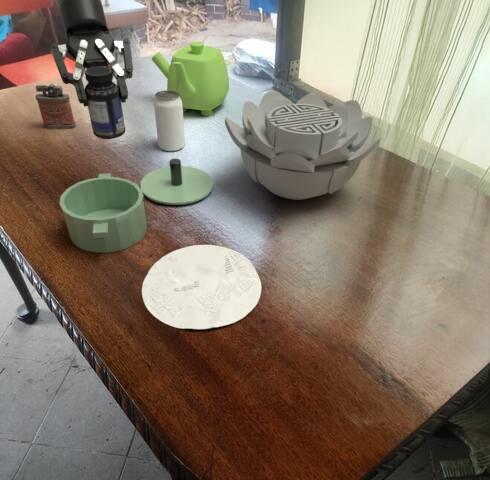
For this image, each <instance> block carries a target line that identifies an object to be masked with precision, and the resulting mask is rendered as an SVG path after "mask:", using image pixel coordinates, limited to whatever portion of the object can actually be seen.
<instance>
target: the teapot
mask: <svg viewBox="0 0 490 480" xmlns="http://www.w3.org/2000/svg"><path fill="white" fill-rule="evenodd" d="M151 61H152V62H153V63H154V64H155V66H156V67H157V68H158V69H159V71H160V72H161V74H163V76H164V77H165V78H166V79H167V82H166V90H171V91H176V92H178V93H179V94H180V98H181V100H182V108H183V112H186V111H187V110H188V109H190V110H195V111H196V110H197V111H200V113H201V115H202V116H204V117H210V116H213V114H214V113H213V110H214V109H216V108H218V107H219V106H222V105H223V103H224V101H225V99H226V98H227V96H228V93H229V90H230V79H229V72H228V67H227V64H226V60H225V58H224V55H223V52H222V50H221V48H216V47H213V46H211V45H205V43H203V42H201V41H191V42H190V43H189V44H188V45H186V46H183V47H180V48H179V49H177V50H176V51H175V52H174V53H173V55H172V57H171V60H170V63H169V62H168V61H167V59H166V58H165V57H164V55H162V53H161V52H160V51H158V52H157V53H155V54H154V55H153V56H152V58H151Z"/></svg>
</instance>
